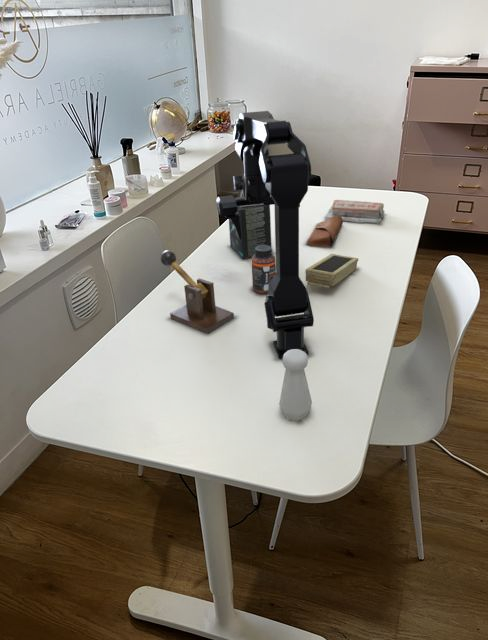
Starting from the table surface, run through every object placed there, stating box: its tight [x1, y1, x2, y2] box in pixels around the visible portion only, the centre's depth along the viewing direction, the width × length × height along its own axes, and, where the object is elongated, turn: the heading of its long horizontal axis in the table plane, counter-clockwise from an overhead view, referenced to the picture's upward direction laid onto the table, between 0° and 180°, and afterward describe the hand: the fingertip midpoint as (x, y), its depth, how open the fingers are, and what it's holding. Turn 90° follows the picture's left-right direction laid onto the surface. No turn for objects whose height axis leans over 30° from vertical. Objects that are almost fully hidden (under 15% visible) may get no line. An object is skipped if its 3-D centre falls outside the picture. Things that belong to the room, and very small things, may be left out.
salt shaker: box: [278, 349, 313, 422], centre depth 98 cm, size 6×6×13 cm
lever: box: [160, 249, 208, 299], centre depth 129 cm, size 14×4×4 cm
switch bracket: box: [169, 278, 235, 335], centre depth 129 cm, size 12×9×9 cm
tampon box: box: [228, 196, 273, 259], centre depth 161 cm, size 11×9×15 cm
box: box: [304, 253, 359, 289], centre depth 147 cm, size 8×22×5 cm, turn 155°
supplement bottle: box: [251, 245, 276, 295], centre depth 140 cm, size 6×6×11 cm
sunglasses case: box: [306, 215, 344, 249], centre depth 172 cm, size 18×7×7 cm, turn 165°
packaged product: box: [325, 199, 385, 224], centre depth 184 cm, size 18×5×10 cm
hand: (259, 236), depth 134 cm, fingers open, 9 cm apart
